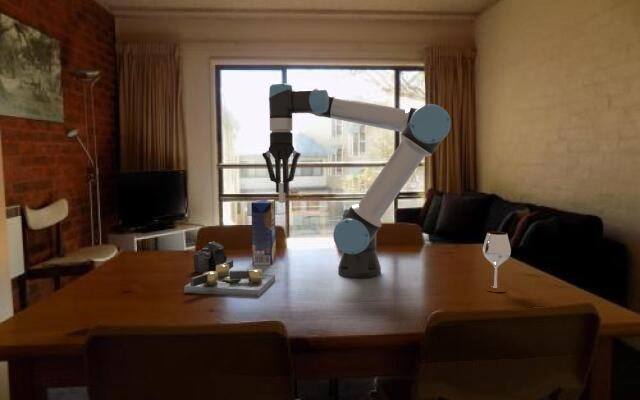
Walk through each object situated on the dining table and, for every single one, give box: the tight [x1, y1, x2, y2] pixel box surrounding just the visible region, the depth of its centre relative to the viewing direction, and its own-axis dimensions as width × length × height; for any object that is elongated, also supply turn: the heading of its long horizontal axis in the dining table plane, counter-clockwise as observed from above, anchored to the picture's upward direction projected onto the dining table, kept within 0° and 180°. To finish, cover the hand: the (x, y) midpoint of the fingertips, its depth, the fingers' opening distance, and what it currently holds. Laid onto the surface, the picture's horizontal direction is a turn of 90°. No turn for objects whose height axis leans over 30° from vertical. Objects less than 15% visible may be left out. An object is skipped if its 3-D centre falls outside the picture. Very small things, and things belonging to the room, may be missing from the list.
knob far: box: [215, 259, 234, 277], centre depth 164 cm, size 10×4×3 cm, turn 170°
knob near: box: [189, 270, 218, 287], centre depth 149 cm, size 10×4×3 cm, turn 150°
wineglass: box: [482, 231, 512, 288], centre depth 150 cm, size 8×8×18 cm
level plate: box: [183, 272, 276, 298], centre depth 155 cm, size 24×18×3 cm
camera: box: [192, 241, 228, 274], centre depth 179 cm, size 13×10×10 cm
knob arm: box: [229, 268, 263, 282], centre depth 154 cm, size 10×4×3 cm, turn 96°
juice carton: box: [250, 199, 277, 266], centre depth 190 cm, size 12×8×24 cm, turn 178°
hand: (282, 202), depth 162 cm, fingers closed
